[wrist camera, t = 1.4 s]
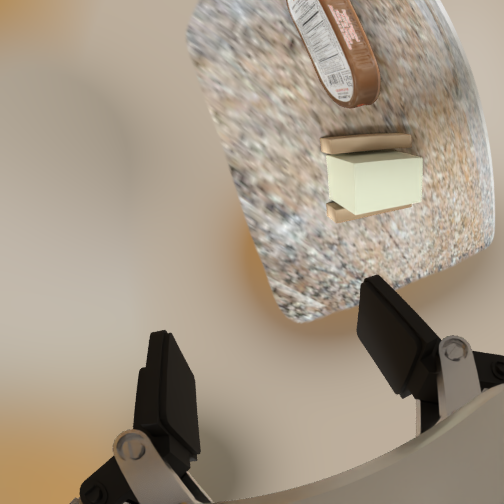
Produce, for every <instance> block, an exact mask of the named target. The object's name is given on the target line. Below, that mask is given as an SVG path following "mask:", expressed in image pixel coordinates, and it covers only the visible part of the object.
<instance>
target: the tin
mask: <svg viewBox="0 0 504 504" xmlns="http://www.w3.org/2000/svg"><path fill="white" fill-rule="evenodd" d="M286 2H287V6H288V10H289V13H290V15H291V18H292V20H293V22H294V24H295V26H296V28H297V30H298V32H299V34H300V37H301V39H302V41H303V43H304V45H305V48H306V50H307V52H308V54H309V57H310V59H311V61H312V63H313V66H314V68H315V71H316V73H317V75H318V78H319V80H320V82H321V84H322V86H323V87H324V89H325V90H326V92H327V93H328V95H329V96H330V97H331V98H332V99H333V100H334V101H335V102H336V103H337V104H338V105H340V106H343V107H346V108H355V107H359V106H362V105H370V104H372V103H374V102H375V101H376V100H377V98H378V96H379V94H380V88H381V78H380V71H379V67H378V64H377V61H376V58H375V55H374V53H373V50H372V48H371V45H370V43H369V40H368V38H367V36H366V34H365V31H364V29H363V27H362V25H361V22H360V20H359V18H358V16H357V14H356V12H355V10H354V8H353V6H352V4H351V2H350V0H286Z"/></svg>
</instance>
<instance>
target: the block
mask: <svg viewBox="0 0 504 504" xmlns="http://www.w3.org/2000/svg"><path fill="white" fill-rule="evenodd" d="M326 159H327V171H328V184H329V198H330V199H331V200H333V201H335V202H336V203H338V204H339V205H341V206H342V207H344V208H345V209H347V210H348V211H350V212H351V213H353V214H354V215H359V214H364V213H369V212H374V211H379V210H384V209H389V208H394V207H399V206H404V205H409V204H414V203H419V202H421V198H422V172H423V158H422V157H419V156H415V155H411V154H407V153H404V152H400V151H396V150H391V149H386V150H372V151H360V152H350V153H340V154H331V155H326Z"/></svg>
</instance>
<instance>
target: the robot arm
mask: <svg viewBox="0 0 504 504" xmlns="http://www.w3.org/2000/svg"><path fill="white" fill-rule="evenodd" d="M357 335H358V337H359V339H360V341H361V342H362V344H363V345H364V346H365V348H366V350H367V351H368V353H369V354H370V356H371V357H372V359H373V360H374V362H375V363H376V365H377V366H378V368H379V369H380V371H381V372H382V374H383V375H384V377H385V378H386V380H387V381H388V383H389V385H390V386H391V388H392V389H393V391H394V392H395V394H400V396H401V397H402V399H403V398H405V397H407V396H409V395H411V394H412V395H413V396H414V398H415V399H416V438H414V439H412V440H410V441H409V442H407V443H405V444H403V445H401V446H400V447H398V448H396V449H394V450H392V451H390V452H388V453H386V454H384V455H382V456H380V457H378V458H375V459H373V460H371V461H369V462H367V463H364V464H362V465H360V466H357V467H355V468H352V469H350V470H347V471H345V472H342V473H340V474H337V475H334V476H331V477H329V478H326V479H323V480H320V481H316V482H314V483H310V484H307V485H303V486H300V487H296V488H292V489H288V490H285V491H281V492H276V493H271V494H267V495H262V496H256V497H251V498H245V499H239V500H231V501H223V502H213V500H212V499H211V498H210V497H209V496H208V495H207V494H206V492H205V491H204V490H203V489H202V488H201V487H200V486H199V484H198V483H197V482H196V481H195V480H194V478H193V477H192V476H191V474H190V473H189V472H188V470H189V469H190V461H197V454H200V452H201V450H200V439H199V428H198V416H197V403H196V388H195V379H194V375H193V373H192V372H191V370H190V368H189V366H188V364H187V362H186V360H185V358H184V356H183V354H182V353H181V351H180V349H179V347H178V345H177V343H176V341H175V339H174V337H173V335H172V333H167V331H166V330H162V331H157V332H152V333H151V334H150V340H149V347H148V354H147V362H146V367H144V368H141V369H140V371H139V376H138V385H137V393H136V402H135V412H134V423H133V429H131V430H130V429H129V430H126V431H123V432H122V433H120V434H119V435H118V436H117V437H116V439H115V440H114V443H113V454H114V456H113V457H112V458H111V459H109V461H107V462H106V463H105V464H104V465H103V466H101V467H100V468H99V469H98V470H97V471H96V472H94V473H93V474H92V475H91V476H90V477H89V478H87V479H86V480H85V481H84V482H83V483H82V485H81V487H80V497H79V499H78V498H75V499H73V501H72V502H71V503H70V504H504V356H502V355H495V354H489V353H483V352H476V351H472V349H471V346H470V344H469V343H468V342H467V341H466V340H465V339H464V338H462V337H459V336H454V335H452V336H447V337H445V338H443V340H441V339H440V338H439V337H438V336H437V335H436V334H435V332H434V331H433V330H432V329H431V328H430V327H429V326H428V325H427V324H426V323H425V322H424V320H423V319H422V318H421V317H420V316H419V315H418V314H417V313H416V312H415V311H414V310H413V309H412V308H411V307H410V306H409V305H408V304H407V303H406V302H405V301H404V300H403V299H402V298H401V297H400V295H399V294H397V292H396V291H395V290H394V289H393V288H392V287H391V286H390V285H389V284H388V283H386V282H385V281H384V280H383V279H382V278H381V277H380V276H379V275H374V276H371V277H368V278H365V279H364V283H362V284H361V288H360V301H359V313H358V322H357Z"/></svg>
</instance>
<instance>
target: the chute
mask: <svg viewBox="0 0 504 504" xmlns="http://www.w3.org/2000/svg"><path fill="white" fill-rule="evenodd" d="M320 143H321V152H325V153H328V154H340V153H349V152H358V151H368V150H379V149H393V148H409V147H412V138H411V135H409V134H403V133H378V134H360V135H347V136H336V137H326V138H320ZM411 206H412V204H409V205H404V206H399V207H394V208H389V209H384V210H379V211H374V212H369V213H364V214H359V215H354V214H353V213H351V212H350V211H348V210H347V209H345V208H344V207H342V206H341V205H339V204H338V203H336V202H332V203H327V204H326V207H327V216H328V217H329V218H330V219H332V220H333V221H334V222H335V223H341V222H345V221H350V220H354V219H359V218H363V217H368V216H372V215H377V214H381V213H386V212H390V211H395V210H399V209H404V208H409V207H411Z"/></svg>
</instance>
